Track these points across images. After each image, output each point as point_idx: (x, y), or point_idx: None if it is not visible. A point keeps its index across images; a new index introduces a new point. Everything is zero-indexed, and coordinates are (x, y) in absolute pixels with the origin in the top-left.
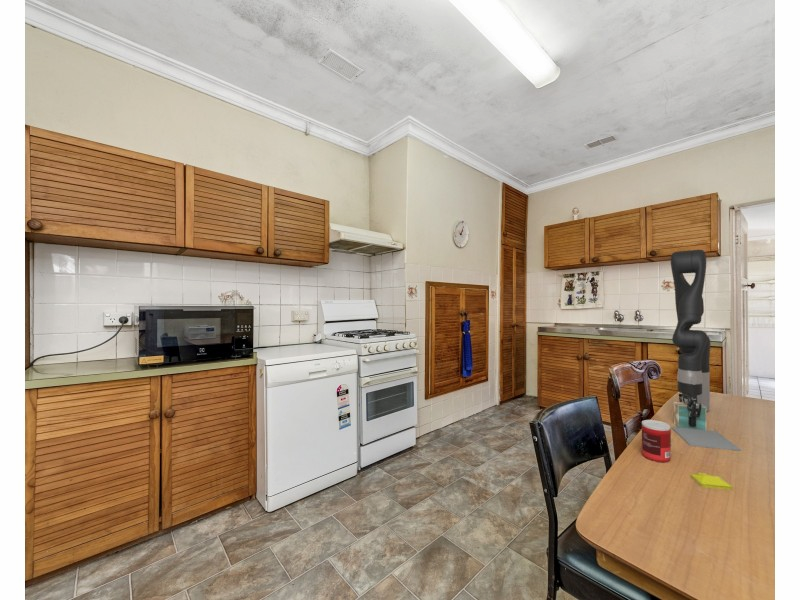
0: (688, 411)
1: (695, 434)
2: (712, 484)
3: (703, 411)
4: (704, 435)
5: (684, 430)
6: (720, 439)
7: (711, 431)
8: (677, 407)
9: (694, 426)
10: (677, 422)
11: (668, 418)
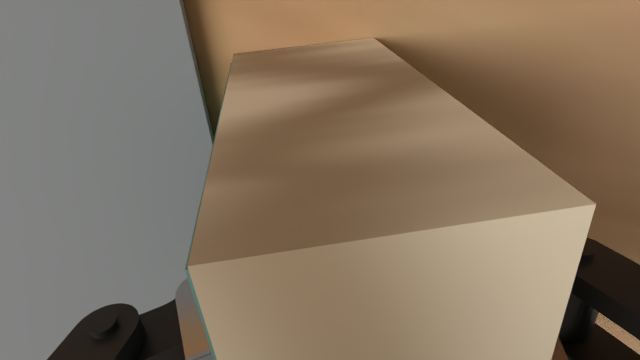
0: None
1: (8, 188)
2: None
3: None
4: (41, 259)
5: (98, 102)
6: (9, 348)
7: None
8: (239, 199)
9: None
10: (244, 69)
11: (586, 28)
